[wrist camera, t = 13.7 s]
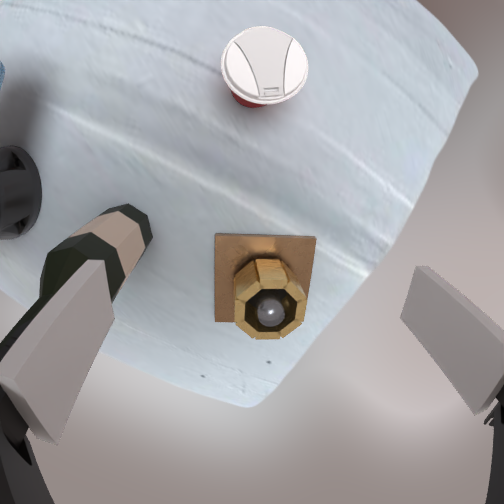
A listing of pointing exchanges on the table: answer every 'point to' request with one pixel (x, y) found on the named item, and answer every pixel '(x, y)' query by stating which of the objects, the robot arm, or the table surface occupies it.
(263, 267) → the collar
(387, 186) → the table surface
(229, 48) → the paper cup
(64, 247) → the wine bottle
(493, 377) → the robot arm
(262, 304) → the doorknob
